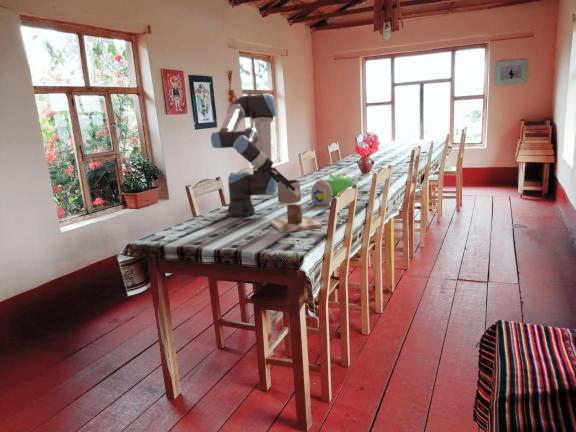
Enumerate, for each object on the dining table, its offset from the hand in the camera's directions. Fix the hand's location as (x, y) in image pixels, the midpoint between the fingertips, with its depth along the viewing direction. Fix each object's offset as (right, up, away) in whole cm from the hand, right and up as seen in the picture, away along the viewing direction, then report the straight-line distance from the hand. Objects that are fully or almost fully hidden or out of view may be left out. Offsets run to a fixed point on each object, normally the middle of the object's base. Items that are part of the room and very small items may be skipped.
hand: (294, 192), depth 220 cm
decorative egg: (+17, -5, +49) cm, 52 cm away
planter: (-3, -5, 0) cm, 5 cm away
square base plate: (0, -16, +4) cm, 16 cm away
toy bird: (+30, +1, +71) cm, 77 cm away
